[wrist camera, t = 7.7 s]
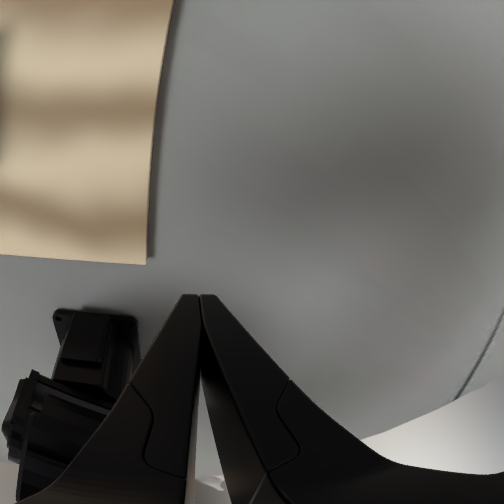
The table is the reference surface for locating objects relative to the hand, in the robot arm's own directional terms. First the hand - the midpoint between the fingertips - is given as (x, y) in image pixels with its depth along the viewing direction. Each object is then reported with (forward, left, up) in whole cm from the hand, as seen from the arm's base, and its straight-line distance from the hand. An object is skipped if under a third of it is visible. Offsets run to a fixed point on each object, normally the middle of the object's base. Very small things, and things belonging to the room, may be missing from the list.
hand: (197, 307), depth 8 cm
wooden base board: (+5, +15, -11) cm, 19 cm away
